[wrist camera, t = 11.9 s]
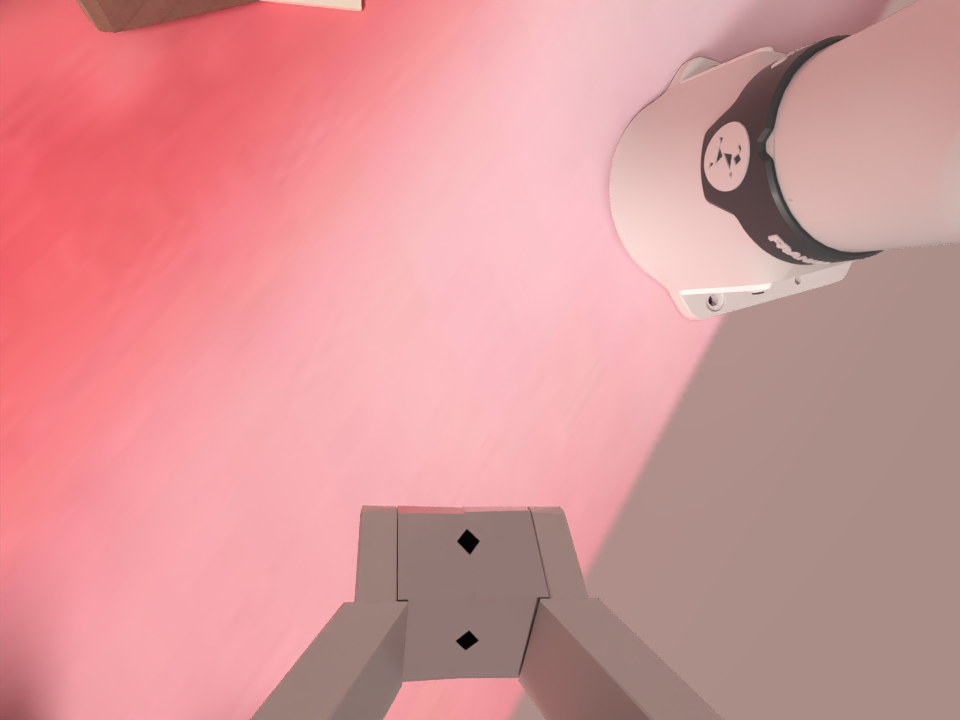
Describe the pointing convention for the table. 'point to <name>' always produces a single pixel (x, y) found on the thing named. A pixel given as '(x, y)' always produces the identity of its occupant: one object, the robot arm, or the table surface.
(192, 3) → the block
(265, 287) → the table surface
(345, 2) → the placemat
